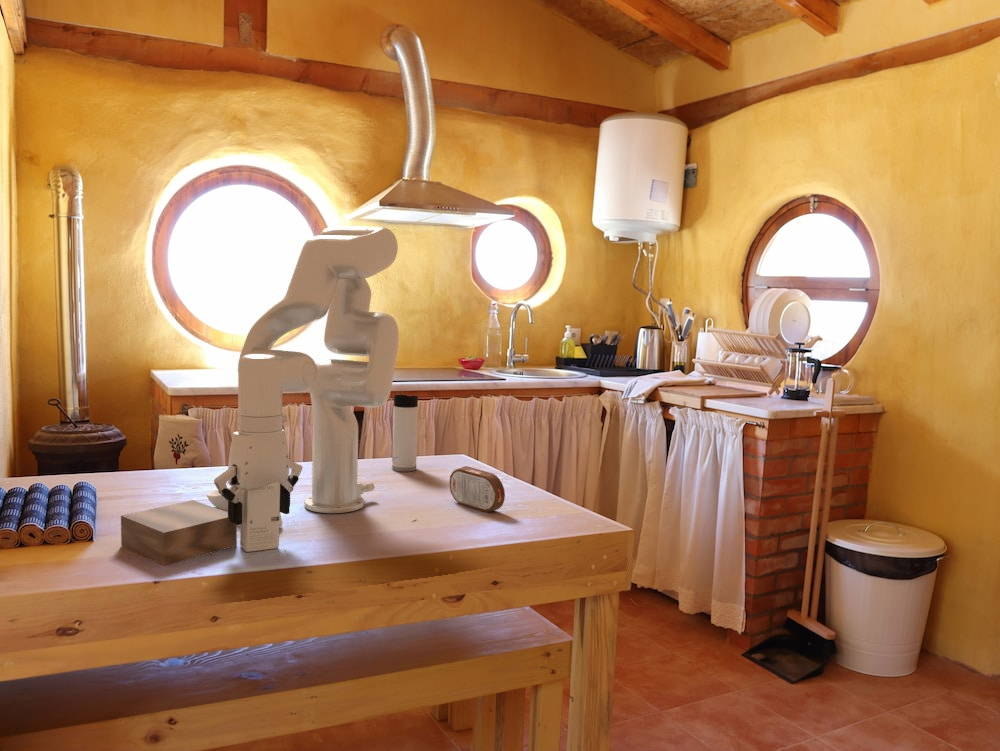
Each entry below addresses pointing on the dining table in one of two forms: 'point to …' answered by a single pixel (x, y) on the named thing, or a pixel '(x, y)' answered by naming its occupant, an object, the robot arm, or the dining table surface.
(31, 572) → the dining table surface
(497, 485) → the tin
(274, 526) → the skincare box
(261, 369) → the robot arm
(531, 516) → the dining table surface
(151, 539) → the walnut block
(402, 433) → the travel mug
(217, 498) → the spoon rest
